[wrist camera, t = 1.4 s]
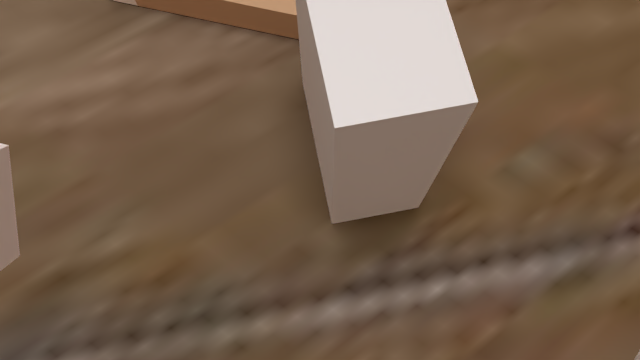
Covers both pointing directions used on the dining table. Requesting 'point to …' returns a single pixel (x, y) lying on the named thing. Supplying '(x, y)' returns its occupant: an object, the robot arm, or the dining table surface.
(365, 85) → the white block
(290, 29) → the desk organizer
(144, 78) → the dining table surface
